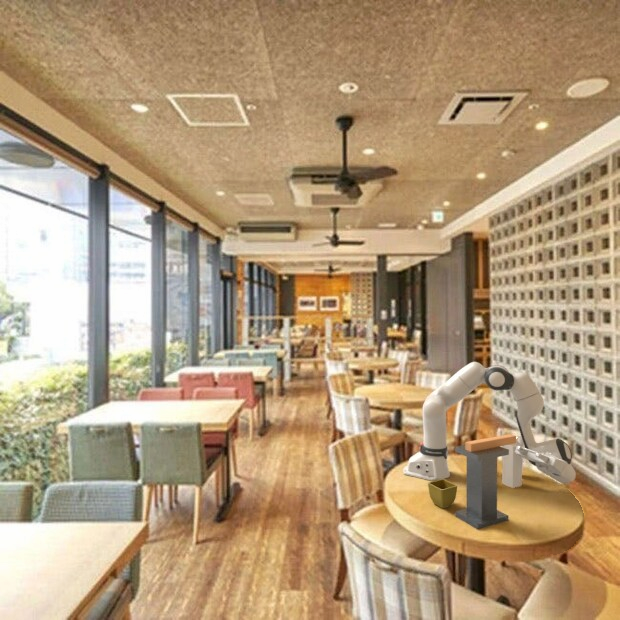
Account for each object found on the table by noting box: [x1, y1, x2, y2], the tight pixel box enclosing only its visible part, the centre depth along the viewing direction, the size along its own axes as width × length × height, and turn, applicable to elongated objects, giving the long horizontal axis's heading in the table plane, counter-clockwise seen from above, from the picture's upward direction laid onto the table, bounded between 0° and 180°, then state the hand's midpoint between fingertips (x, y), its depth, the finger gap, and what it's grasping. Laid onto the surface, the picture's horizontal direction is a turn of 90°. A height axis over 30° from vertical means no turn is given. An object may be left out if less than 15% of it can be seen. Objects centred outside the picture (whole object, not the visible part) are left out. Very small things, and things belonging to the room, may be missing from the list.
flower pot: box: [427, 479, 458, 509], centre depth 198 cm, size 9×9×9 cm
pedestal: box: [454, 444, 510, 530], centre depth 185 cm, size 16×12×28 cm
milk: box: [501, 436, 523, 489], centre depth 219 cm, size 6×6×22 cm
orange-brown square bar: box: [464, 433, 517, 452], centre depth 187 cm, size 24×3×3 cm, turn 115°
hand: (527, 451), depth 196 cm, fingers open, 8 cm apart
